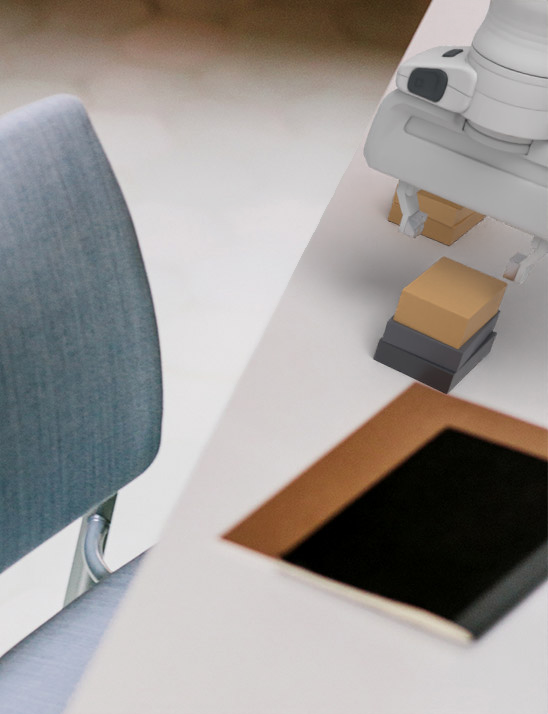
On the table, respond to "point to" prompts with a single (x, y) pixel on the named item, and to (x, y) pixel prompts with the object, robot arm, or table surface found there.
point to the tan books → (439, 217)
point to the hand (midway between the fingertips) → (460, 255)
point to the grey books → (433, 354)
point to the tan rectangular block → (450, 302)
